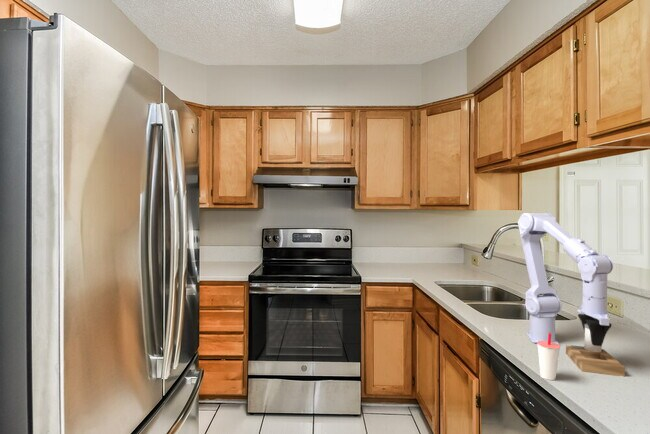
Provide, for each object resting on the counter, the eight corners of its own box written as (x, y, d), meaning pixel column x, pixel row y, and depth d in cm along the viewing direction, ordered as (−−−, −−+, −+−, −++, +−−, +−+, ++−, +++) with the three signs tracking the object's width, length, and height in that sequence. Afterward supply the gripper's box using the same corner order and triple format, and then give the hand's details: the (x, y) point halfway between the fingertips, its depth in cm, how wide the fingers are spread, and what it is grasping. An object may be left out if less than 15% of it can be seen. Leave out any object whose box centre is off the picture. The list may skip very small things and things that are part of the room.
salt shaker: (581, 346, 106) (582, 322, 106) (597, 347, 105) (598, 324, 105) (587, 351, 102) (588, 327, 102) (604, 353, 101) (605, 328, 101)
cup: (564, 381, 93) (565, 336, 93) (545, 382, 93) (546, 336, 92) (550, 372, 99) (550, 329, 98) (531, 372, 98) (532, 329, 98)
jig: (565, 353, 112) (566, 343, 112) (603, 357, 109) (603, 347, 109) (581, 371, 99) (581, 360, 99) (624, 376, 96) (624, 365, 96)
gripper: (569, 289, 112) (569, 332, 112) (588, 301, 98) (587, 350, 98) (596, 291, 109) (595, 335, 110) (619, 303, 96) (618, 353, 96)
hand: (593, 342), depth 104 cm, fingers closed on salt shaker, 4 cm apart
